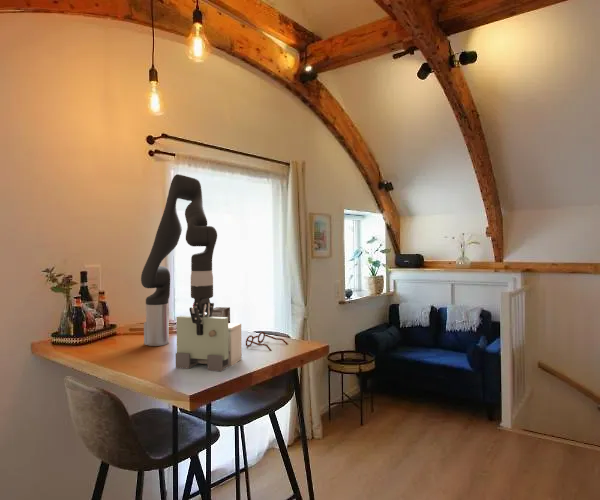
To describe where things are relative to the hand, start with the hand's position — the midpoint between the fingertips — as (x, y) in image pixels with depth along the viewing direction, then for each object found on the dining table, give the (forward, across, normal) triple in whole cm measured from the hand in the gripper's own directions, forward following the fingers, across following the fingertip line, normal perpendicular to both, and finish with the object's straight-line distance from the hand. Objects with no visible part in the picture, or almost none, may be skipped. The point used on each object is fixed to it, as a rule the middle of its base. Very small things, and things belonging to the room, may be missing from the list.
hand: (202, 333), depth 147 cm
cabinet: (+11, -5, 0) cm, 12 cm away
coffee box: (+12, -28, -7) cm, 31 cm away
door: (+8, 0, 0) cm, 8 cm away
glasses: (+12, -35, +11) cm, 39 cm away
